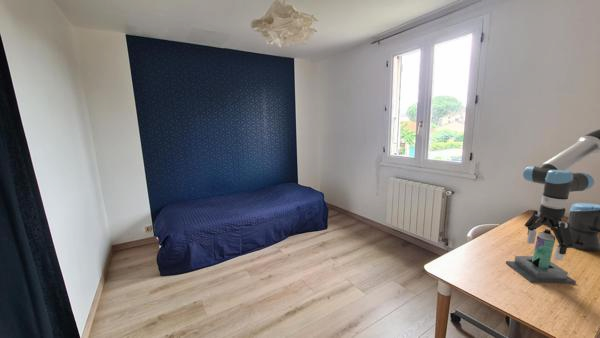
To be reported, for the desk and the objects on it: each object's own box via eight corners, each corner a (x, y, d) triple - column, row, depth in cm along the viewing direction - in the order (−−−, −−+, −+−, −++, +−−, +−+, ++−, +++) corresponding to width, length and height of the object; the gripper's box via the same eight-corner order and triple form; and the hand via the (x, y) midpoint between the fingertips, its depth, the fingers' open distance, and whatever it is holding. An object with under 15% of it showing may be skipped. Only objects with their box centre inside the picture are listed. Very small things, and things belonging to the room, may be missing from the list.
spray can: (544, 268, 112) (553, 228, 107) (549, 275, 107) (559, 233, 102) (528, 265, 114) (536, 226, 110) (533, 272, 109) (542, 231, 105)
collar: (545, 263, 117) (547, 255, 116) (575, 283, 103) (578, 274, 102) (505, 262, 118) (507, 254, 117) (530, 282, 104) (532, 272, 103)
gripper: (519, 196, 116) (512, 237, 121) (573, 218, 92) (562, 267, 96) (536, 196, 116) (528, 237, 120) (595, 218, 91) (582, 268, 96)
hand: (543, 251), depth 108 cm, fingers open, 13 cm apart
